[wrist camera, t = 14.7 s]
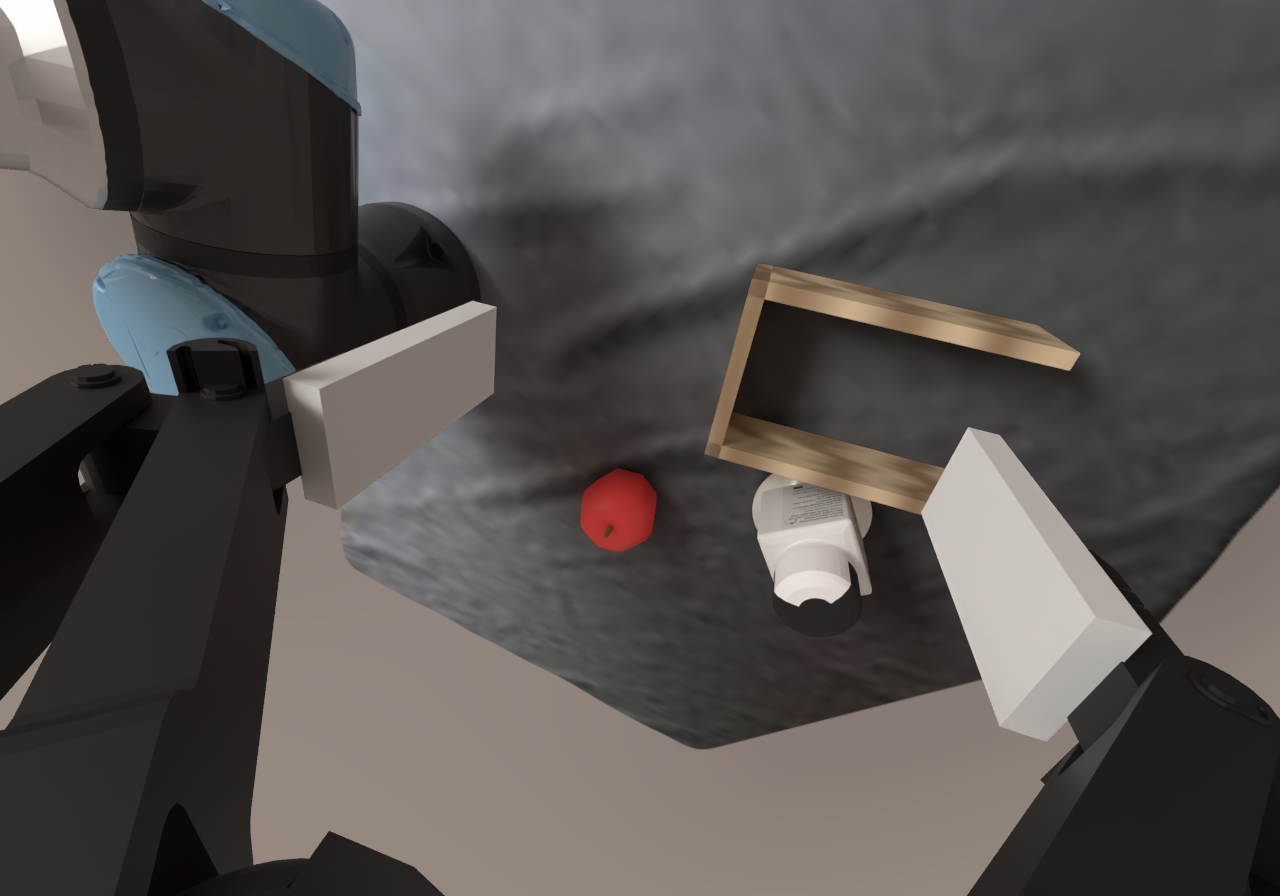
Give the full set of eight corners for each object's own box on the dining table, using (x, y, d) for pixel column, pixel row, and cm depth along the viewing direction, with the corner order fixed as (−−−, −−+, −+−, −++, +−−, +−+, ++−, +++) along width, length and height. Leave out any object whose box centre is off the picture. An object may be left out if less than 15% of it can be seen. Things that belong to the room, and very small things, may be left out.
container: (863, 540, 51) (882, 645, 40) (783, 553, 54) (780, 653, 43) (844, 472, 48) (858, 564, 37) (760, 489, 51) (751, 579, 40)
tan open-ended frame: (715, 419, 49) (704, 454, 43) (758, 262, 42) (752, 277, 36) (948, 482, 47) (970, 528, 41) (1037, 325, 39) (1080, 353, 33)
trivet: (740, 537, 55) (739, 540, 54) (771, 447, 49) (770, 450, 49) (846, 569, 53) (846, 573, 53) (890, 480, 48) (891, 483, 47)
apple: (654, 454, 53) (634, 496, 46) (673, 520, 56) (656, 568, 49) (583, 463, 56) (554, 504, 49) (605, 525, 59) (580, 572, 52)
